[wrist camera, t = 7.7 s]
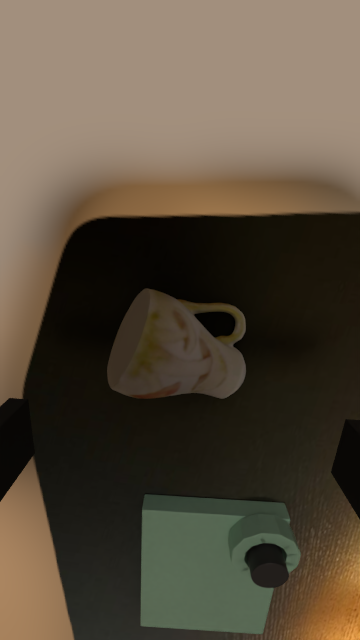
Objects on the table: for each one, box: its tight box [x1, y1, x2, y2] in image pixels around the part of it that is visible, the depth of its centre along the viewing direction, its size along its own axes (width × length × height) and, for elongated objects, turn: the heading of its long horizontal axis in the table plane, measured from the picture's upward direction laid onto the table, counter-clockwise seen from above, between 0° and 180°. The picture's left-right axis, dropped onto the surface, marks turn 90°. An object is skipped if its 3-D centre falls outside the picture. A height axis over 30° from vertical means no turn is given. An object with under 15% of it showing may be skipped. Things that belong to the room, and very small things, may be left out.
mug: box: [107, 289, 246, 399], centre depth 19 cm, size 8×10×10 cm
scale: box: [140, 494, 301, 634], centre depth 28 cm, size 18×15×4 cm
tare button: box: [247, 543, 289, 588], centre depth 24 cm, size 3×3×2 cm
